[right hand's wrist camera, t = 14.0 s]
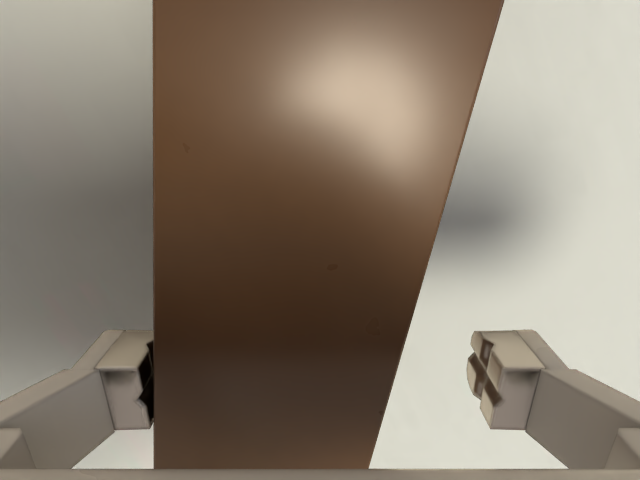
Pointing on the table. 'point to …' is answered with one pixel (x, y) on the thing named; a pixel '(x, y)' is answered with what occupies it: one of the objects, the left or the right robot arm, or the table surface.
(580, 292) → the table surface
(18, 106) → the table surface
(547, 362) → the right robot arm
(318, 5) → the bar
